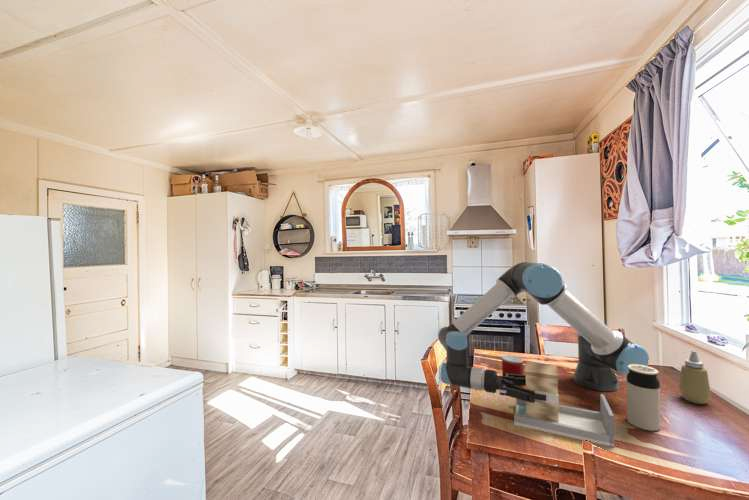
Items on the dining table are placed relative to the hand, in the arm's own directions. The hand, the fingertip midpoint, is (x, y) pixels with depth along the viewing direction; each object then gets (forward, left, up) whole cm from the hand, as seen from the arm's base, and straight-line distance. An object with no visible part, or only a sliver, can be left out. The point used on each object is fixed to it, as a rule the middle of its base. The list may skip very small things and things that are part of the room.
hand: (557, 392), depth 100 cm
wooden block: (+4, -2, -9) cm, 10 cm away
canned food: (+6, -28, -10) cm, 30 cm away
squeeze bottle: (-55, -20, -10) cm, 60 cm away
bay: (0, 0, -10) cm, 10 cm away
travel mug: (-26, -2, -10) cm, 28 cm away
